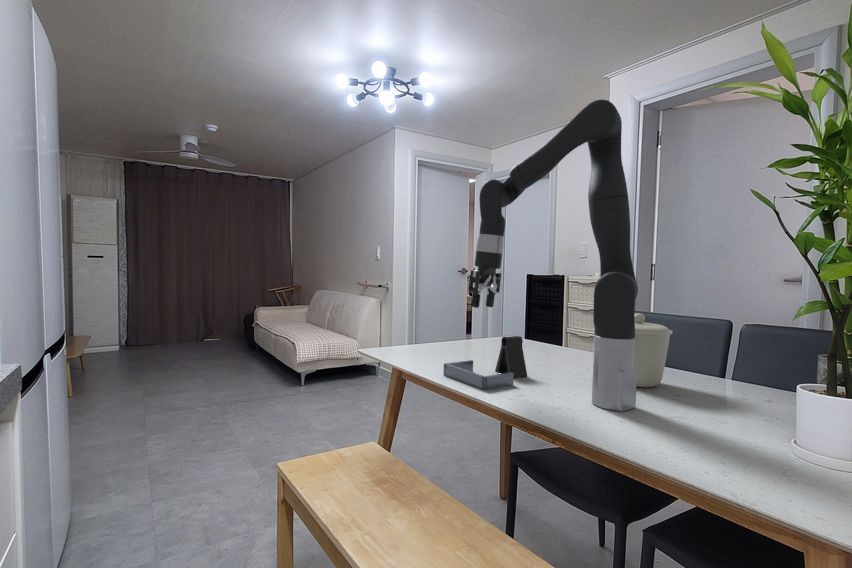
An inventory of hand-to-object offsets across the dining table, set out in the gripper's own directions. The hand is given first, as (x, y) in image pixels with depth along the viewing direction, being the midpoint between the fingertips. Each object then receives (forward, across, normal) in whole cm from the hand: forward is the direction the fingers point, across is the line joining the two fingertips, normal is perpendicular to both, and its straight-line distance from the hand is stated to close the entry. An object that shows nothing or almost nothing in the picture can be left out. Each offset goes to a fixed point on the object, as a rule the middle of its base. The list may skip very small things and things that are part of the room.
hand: (482, 307), depth 125 cm
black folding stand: (+21, +17, -4) cm, 27 cm away
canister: (+18, +32, -37) cm, 52 cm away
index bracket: (+22, +3, +1) cm, 22 cm away
